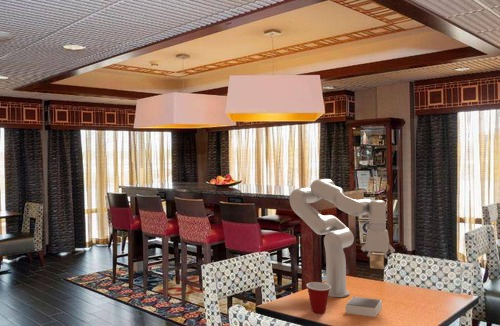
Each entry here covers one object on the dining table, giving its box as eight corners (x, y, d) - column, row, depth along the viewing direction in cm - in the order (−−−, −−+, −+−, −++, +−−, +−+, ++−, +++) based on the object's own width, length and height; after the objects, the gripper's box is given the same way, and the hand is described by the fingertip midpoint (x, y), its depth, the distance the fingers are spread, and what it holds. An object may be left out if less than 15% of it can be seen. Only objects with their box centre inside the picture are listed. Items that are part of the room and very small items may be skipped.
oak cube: (370, 267, 223) (369, 255, 223) (372, 265, 228) (372, 252, 228) (383, 269, 220) (383, 256, 220) (385, 266, 225) (385, 253, 225)
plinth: (345, 313, 210) (345, 304, 210) (353, 304, 222) (353, 296, 222) (375, 317, 204) (375, 307, 204) (381, 308, 216) (381, 299, 216)
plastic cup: (325, 317, 205) (325, 289, 205) (302, 313, 210) (302, 286, 210) (335, 310, 214) (334, 283, 214) (313, 307, 220) (312, 280, 220)
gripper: (357, 227, 224) (357, 265, 225) (395, 229, 217) (395, 269, 217) (360, 225, 231) (361, 262, 231) (397, 226, 223) (398, 265, 224)
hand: (377, 265), depth 224 cm, fingers closed on oak cube, 6 cm apart
